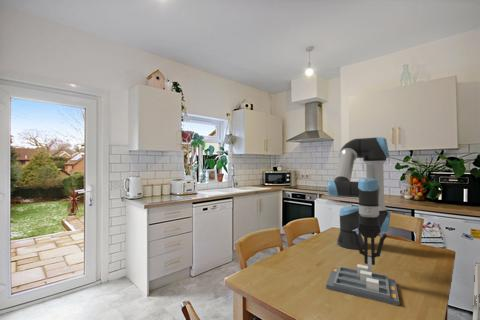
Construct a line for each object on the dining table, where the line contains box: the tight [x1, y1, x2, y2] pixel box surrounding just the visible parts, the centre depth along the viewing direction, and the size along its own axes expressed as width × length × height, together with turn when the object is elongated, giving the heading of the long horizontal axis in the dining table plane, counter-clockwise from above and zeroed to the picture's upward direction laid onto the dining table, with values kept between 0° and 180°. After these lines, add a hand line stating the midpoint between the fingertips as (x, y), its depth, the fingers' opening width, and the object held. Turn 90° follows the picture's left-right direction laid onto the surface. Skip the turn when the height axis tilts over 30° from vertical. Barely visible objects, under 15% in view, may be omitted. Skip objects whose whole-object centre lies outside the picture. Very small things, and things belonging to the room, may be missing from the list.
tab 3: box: [366, 278, 379, 292], centre depth 88 cm, size 3×4×4 cm
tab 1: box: [356, 263, 368, 275], centre depth 100 cm, size 3×4×4 cm
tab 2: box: [360, 270, 373, 282], centre depth 94 cm, size 3×4×4 cm
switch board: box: [325, 265, 400, 306], centre depth 95 cm, size 18×24×3 cm
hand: (369, 271), depth 99 cm, fingers closed
